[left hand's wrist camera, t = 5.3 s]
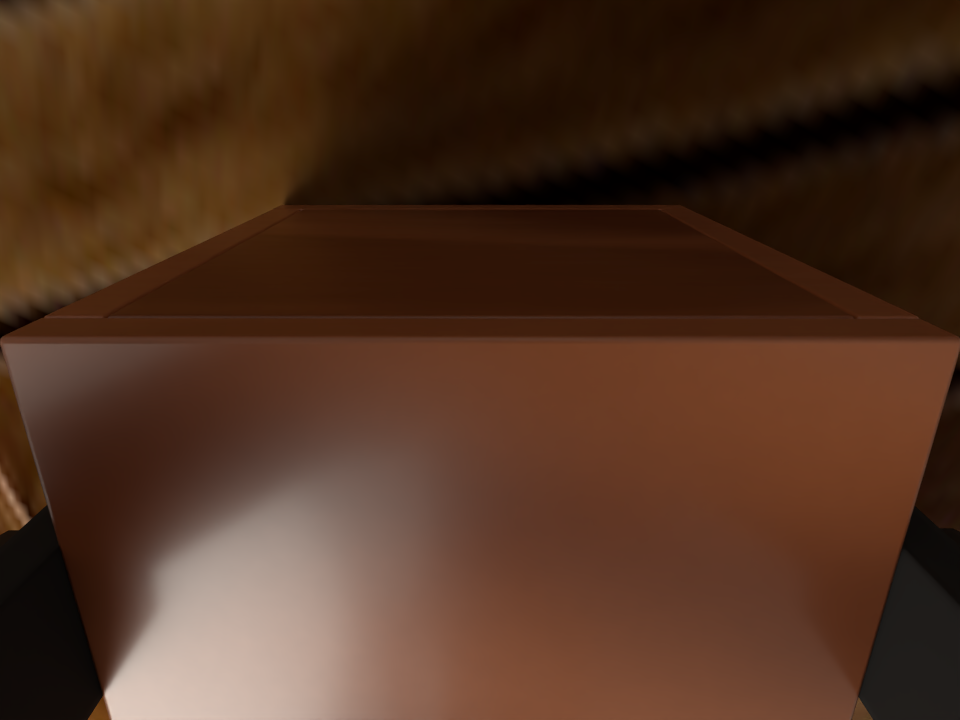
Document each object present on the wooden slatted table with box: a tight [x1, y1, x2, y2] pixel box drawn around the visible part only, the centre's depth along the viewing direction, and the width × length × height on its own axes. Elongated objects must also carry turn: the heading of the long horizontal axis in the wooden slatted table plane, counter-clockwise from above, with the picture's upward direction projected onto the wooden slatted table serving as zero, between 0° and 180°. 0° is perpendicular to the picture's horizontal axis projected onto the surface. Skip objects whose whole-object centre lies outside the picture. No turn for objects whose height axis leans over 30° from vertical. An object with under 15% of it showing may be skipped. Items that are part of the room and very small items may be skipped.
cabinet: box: [0, 205, 960, 720], centre depth 16 cm, size 19×11×11 cm, turn 0°
